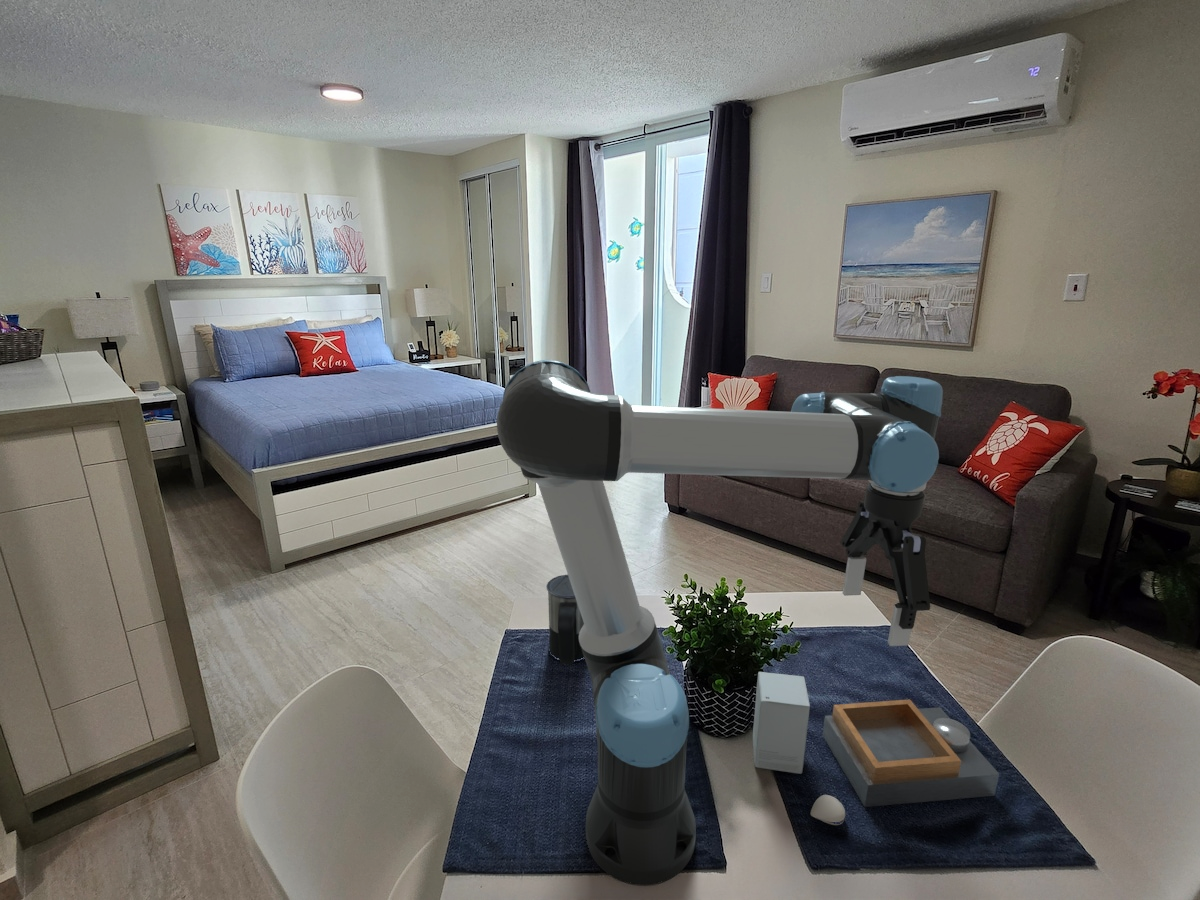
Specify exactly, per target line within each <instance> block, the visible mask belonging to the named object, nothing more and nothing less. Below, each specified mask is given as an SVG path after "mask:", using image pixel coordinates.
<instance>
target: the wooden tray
mask: <svg viewBox="0 0 1200 900" xmlns="http://www.w3.org/2000/svg"><path fill="white" fill-rule="evenodd" d="M823 720H824V721H823V728H822V735H821V736H822V737H823V739H824V740H825V742H826V743H827V746H828V747H829V749H830V751H831V752H832V755H833V756H834V758H835V759H836V761H837V763H838V765H839V766H840V768H841V770H842V772H843V774H844V775H845V776H846V778H847V779H848V781H849V783H850V784H851V786H852V788H853V790H854V791H855V793H856V795H857V797H858V798H859V800H860V801H861V803H862V805H863V807H864V808H869V807H882V806H890V805H892V806H893V805H901V804H902V805H903V804H904V805H905V804H913V803H914V804H916V803H924V802H925V803H926V802H936V801H937V802H938V801H948V800H949V801H950V800H959V799H972V798H981V797H982V798H983V797H993V796H995V795H996V791H997V786H998V783H999V778H1000V773H999V772H998V770H996V768H995V767H994V766H993V765H992V764H991V763H990V761H988V759H987V758H986V757H985V756H984V755H983V754H982V753H981V751H979V749H978V748H977V747H976V746H975V744H974V743H972V741H971V740H970V739H971V732H970V730H969V729H968V727H966V726H965V725H964V724H963V723H962V722H961V721H960V722H959V721H958V720H955V719H952V718H951V717H949V715H948V714H947V713H946V712H945V711H944V710H943V709H942V707H939V706H938V707H926V708H925V707H924V708H918V707H917V706H916V704H915V703H914V702H913V701H912V700H911V699H909V698H908V699H898V700H897V699H896V700H885V701H884V700H882V701H870V702H856V703H855V702H854V703H841V704H833V708H832V715H829V714H828V715H824V719H823Z"/></svg>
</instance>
